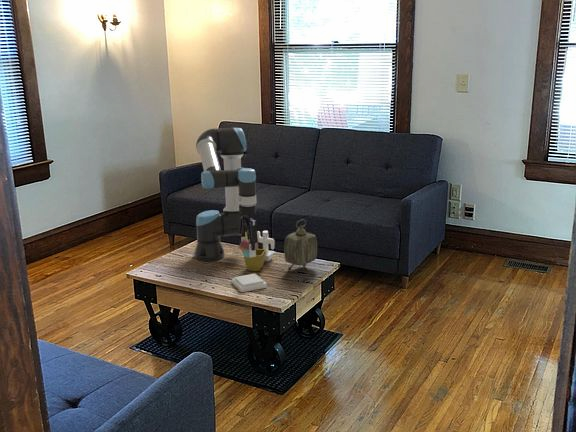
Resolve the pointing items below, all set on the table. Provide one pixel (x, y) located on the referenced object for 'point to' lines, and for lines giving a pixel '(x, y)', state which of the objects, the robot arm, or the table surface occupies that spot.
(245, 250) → the cupcake
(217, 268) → the table surface
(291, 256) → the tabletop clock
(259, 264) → the flower pot
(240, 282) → the pedestal
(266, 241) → the figurine
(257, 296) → the table surface
